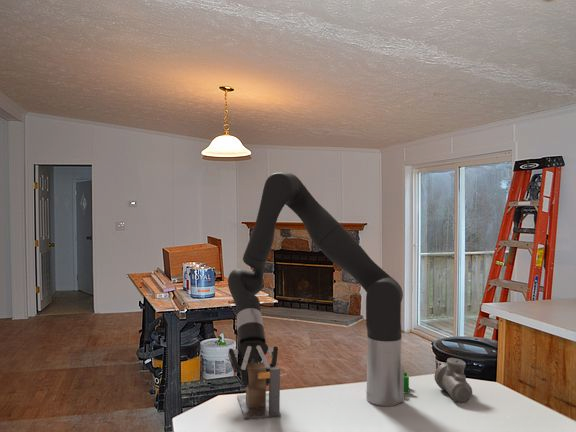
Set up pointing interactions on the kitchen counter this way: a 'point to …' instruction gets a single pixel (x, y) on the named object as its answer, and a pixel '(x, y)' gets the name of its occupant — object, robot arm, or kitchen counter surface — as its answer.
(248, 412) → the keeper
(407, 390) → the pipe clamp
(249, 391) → the link block
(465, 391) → the pipe fitting
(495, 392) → the kitchen counter surface
